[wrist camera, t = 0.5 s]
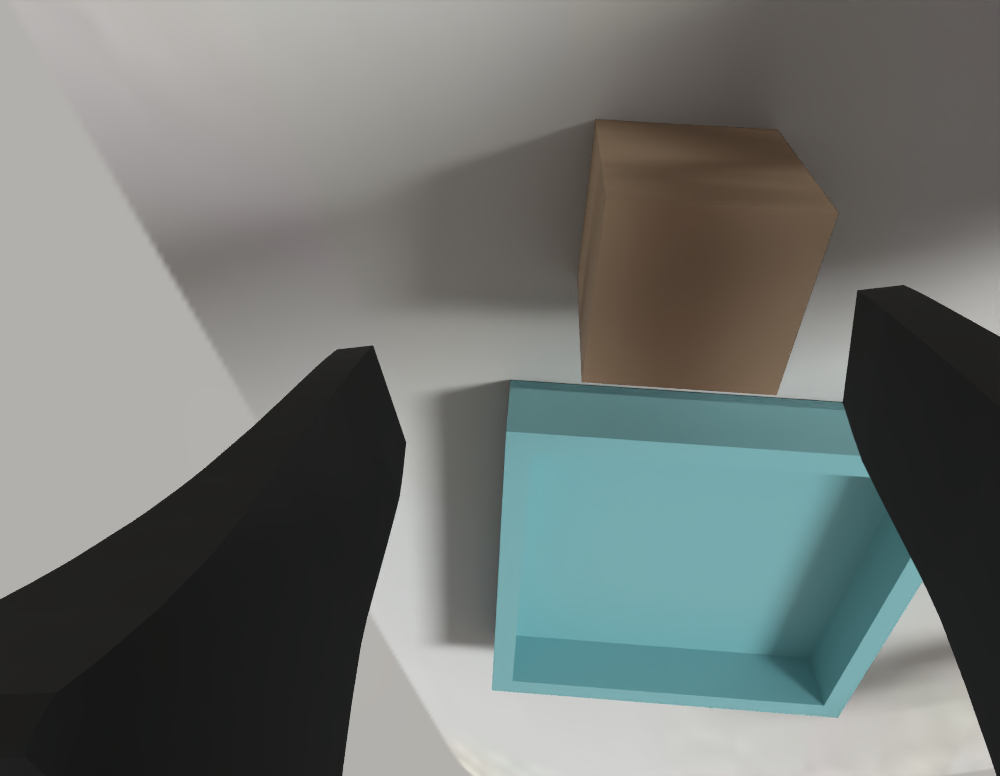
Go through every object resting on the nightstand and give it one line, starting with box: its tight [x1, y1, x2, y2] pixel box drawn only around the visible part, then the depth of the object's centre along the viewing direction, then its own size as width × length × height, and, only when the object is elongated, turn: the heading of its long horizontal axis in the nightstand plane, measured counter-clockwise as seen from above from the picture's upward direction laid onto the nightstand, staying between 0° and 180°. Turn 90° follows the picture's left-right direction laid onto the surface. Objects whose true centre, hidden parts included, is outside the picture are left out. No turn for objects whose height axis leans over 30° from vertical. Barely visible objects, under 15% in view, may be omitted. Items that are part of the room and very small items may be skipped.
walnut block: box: [577, 119, 839, 395], centre depth 17 cm, size 4×4×5 cm
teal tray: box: [492, 380, 922, 718], centre depth 26 cm, size 14×14×2 cm
